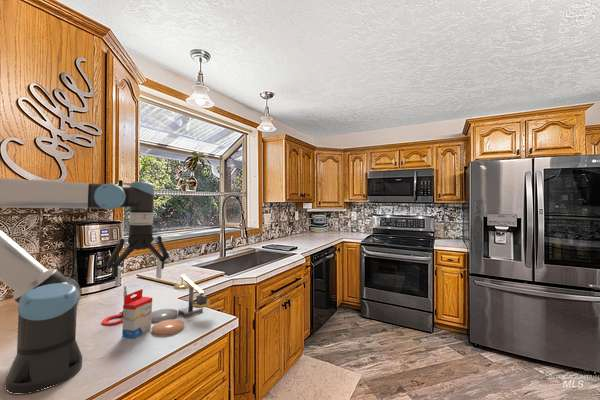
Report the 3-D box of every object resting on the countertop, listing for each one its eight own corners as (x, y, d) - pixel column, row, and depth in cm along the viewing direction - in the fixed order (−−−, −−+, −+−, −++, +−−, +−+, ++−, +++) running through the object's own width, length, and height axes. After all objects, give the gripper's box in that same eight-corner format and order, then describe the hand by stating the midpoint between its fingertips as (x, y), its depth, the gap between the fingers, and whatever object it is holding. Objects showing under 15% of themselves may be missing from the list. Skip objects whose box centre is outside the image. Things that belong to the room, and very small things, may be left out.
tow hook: (110, 328, 100) (134, 318, 108) (109, 295, 99) (133, 287, 108) (96, 324, 103) (121, 314, 112) (96, 291, 103) (120, 284, 111)
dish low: (159, 339, 92) (159, 335, 92) (147, 328, 99) (147, 325, 99) (189, 328, 101) (189, 325, 101) (176, 319, 108) (176, 316, 108)
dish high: (154, 325, 102) (154, 322, 102) (143, 317, 109) (143, 314, 109) (182, 316, 111) (182, 313, 111) (170, 309, 118) (170, 306, 118)
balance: (196, 324, 104) (197, 287, 105) (168, 307, 120) (170, 275, 120) (214, 317, 110) (215, 282, 111) (185, 302, 126) (187, 272, 126)
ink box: (133, 339, 92) (135, 297, 92) (121, 337, 93) (123, 295, 93) (151, 328, 100) (153, 289, 100) (140, 326, 101) (142, 288, 101)
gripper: (103, 226, 85) (100, 292, 85) (179, 223, 104) (177, 276, 104) (97, 224, 90) (94, 286, 89) (171, 222, 109) (169, 273, 109)
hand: (139, 281), depth 97 cm, fingers open, 13 cm apart
